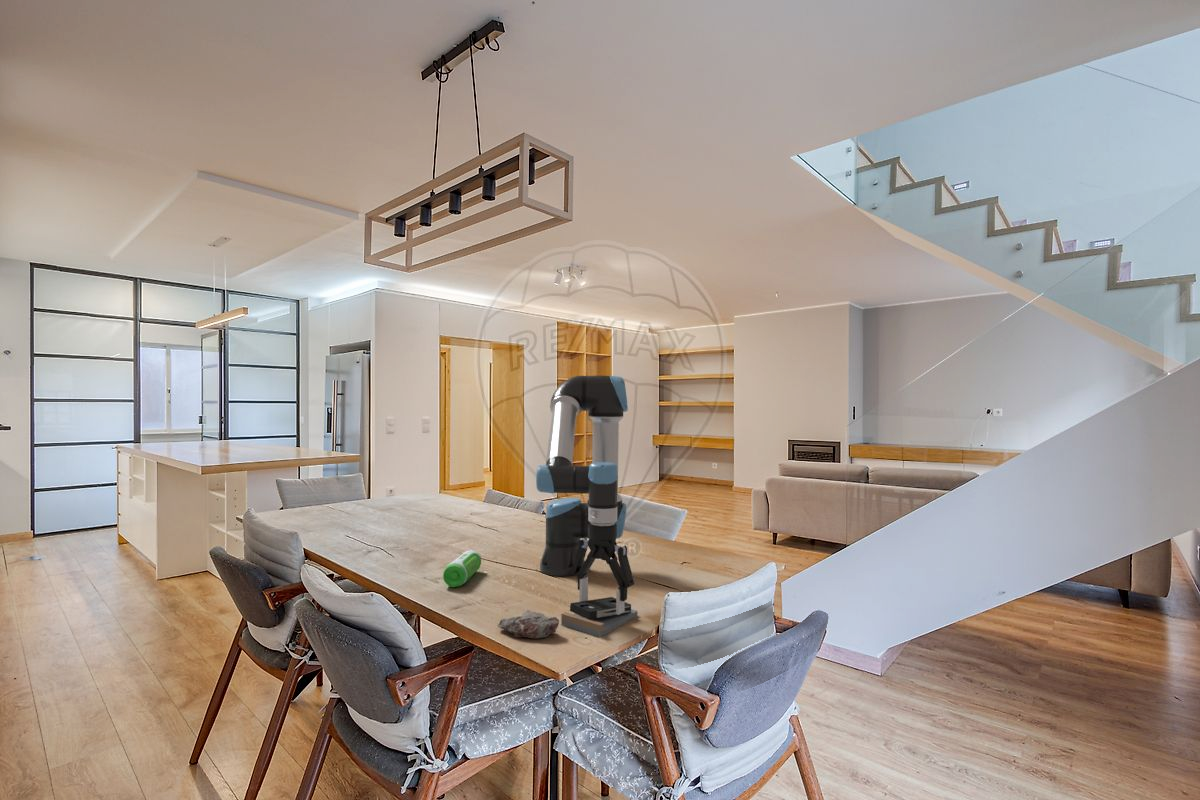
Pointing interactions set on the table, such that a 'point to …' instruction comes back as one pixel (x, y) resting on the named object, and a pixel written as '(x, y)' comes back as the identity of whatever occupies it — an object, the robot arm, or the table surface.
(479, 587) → the table surface
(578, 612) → the vhs tape
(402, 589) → the table surface
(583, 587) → the robot arm
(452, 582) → the speaker
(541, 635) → the mineral rock
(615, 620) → the board
